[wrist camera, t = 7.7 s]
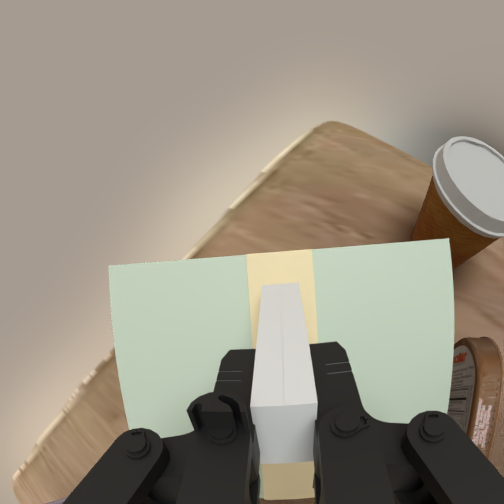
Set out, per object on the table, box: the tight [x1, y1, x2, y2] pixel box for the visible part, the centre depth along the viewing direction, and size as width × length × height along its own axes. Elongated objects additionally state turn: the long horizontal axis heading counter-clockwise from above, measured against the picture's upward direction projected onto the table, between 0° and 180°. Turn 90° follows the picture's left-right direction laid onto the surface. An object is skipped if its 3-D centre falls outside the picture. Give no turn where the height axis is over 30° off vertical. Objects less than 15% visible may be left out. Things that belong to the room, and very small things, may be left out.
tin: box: [447, 337, 504, 460], centre depth 16 cm, size 15×3×8 cm, turn 168°
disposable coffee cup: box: [411, 136, 504, 269], centre depth 22 cm, size 10×10×12 cm
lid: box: [109, 238, 454, 500], centre depth 13 cm, size 18×14×1 cm
